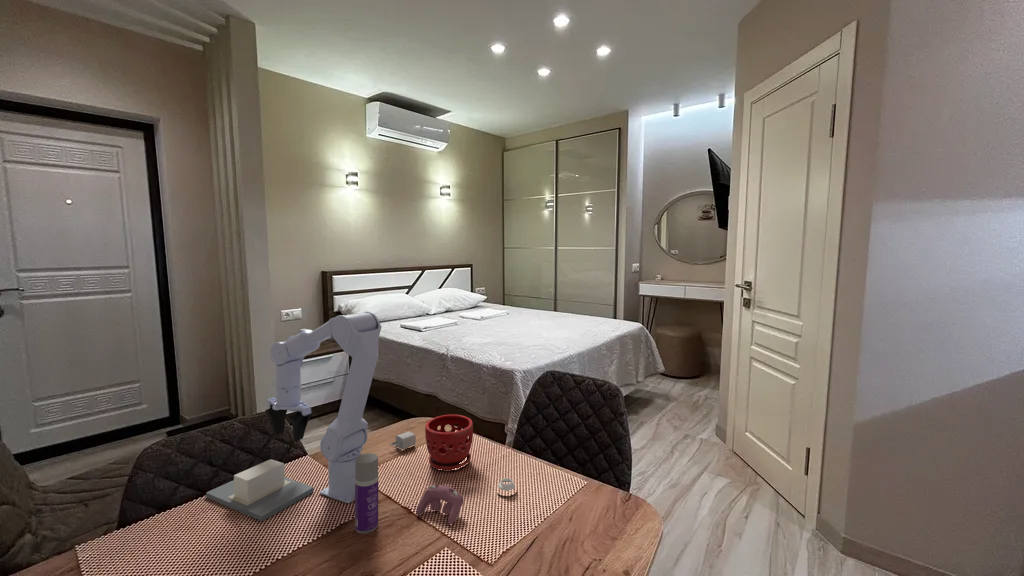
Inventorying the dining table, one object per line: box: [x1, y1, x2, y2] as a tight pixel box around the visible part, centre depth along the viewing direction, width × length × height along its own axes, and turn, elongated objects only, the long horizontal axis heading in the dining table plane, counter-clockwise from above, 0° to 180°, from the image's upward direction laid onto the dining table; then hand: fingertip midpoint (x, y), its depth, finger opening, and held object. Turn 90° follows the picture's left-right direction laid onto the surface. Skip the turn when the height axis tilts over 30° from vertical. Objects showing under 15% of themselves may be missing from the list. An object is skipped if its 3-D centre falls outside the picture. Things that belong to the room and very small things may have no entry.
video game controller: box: [415, 484, 464, 526], centre depth 94 cm, size 10×5×7 cm, turn 66°
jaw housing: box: [233, 459, 286, 502], centre depth 99 cm, size 5×9×5 cm, turn 155°
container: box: [354, 452, 379, 534], centre depth 88 cm, size 5×5×15 cm
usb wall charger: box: [389, 431, 416, 449], centre depth 125 cm, size 4×7×4 cm, turn 137°
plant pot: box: [424, 414, 474, 470], centre depth 116 cm, size 13×13×12 cm
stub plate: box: [205, 476, 314, 522], centre depth 99 cm, size 20×13×3 cm, turn 65°
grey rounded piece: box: [497, 477, 516, 491], centre depth 103 cm, size 5×3×5 cm
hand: (288, 436), depth 110 cm, fingers open, 7 cm apart
